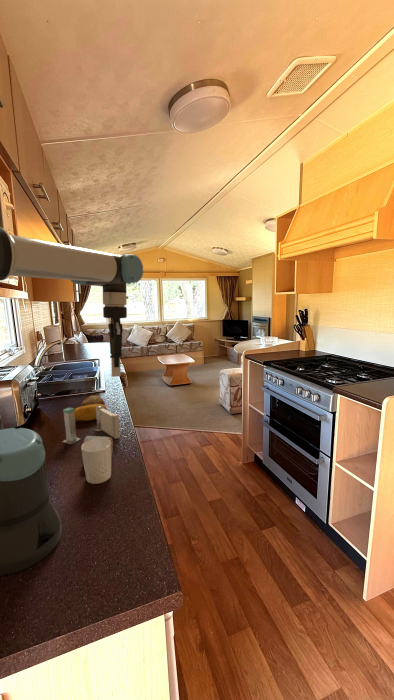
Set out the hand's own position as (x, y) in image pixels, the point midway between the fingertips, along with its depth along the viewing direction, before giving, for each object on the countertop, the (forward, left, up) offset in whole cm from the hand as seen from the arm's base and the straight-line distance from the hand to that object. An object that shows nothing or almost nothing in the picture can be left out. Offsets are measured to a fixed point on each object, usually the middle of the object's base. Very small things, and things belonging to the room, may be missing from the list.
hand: (116, 375), depth 102 cm
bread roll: (-6, +40, -25) cm, 48 cm away
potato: (-8, +26, -25) cm, 37 cm away
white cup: (-9, -19, -25) cm, 32 cm away
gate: (-2, +8, -24) cm, 25 cm away
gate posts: (-11, +12, -24) cm, 29 cm away
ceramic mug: (-8, -7, -25) cm, 27 cm away
